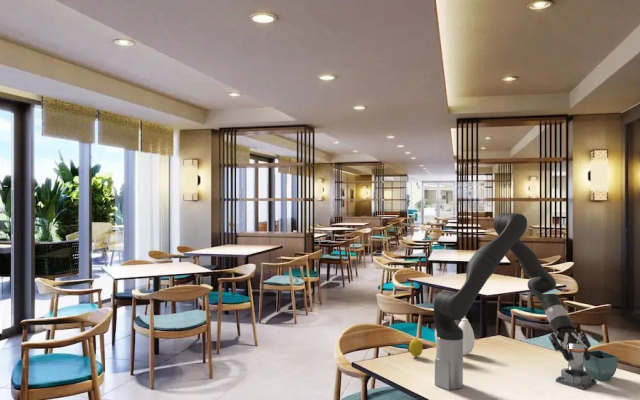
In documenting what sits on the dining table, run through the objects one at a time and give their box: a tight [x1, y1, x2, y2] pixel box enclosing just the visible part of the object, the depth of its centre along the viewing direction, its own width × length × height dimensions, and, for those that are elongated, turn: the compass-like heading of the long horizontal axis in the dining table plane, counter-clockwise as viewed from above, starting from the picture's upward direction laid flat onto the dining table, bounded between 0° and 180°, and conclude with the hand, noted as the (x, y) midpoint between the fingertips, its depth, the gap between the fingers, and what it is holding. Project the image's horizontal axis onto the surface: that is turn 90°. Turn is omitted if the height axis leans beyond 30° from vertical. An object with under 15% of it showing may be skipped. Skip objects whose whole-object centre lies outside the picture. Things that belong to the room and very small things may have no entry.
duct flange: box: [555, 367, 598, 391], centre depth 178 cm, size 10×10×4 cm
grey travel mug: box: [567, 341, 585, 376], centre depth 178 cm, size 6×6×13 cm
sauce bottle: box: [457, 316, 475, 356], centre depth 210 cm, size 8×8×18 cm
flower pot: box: [584, 349, 619, 382], centre depth 183 cm, size 9×9×9 cm
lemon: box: [408, 338, 424, 358], centre depth 205 cm, size 6×6×8 cm
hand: (579, 359), depth 176 cm, fingers open, 7 cm apart
